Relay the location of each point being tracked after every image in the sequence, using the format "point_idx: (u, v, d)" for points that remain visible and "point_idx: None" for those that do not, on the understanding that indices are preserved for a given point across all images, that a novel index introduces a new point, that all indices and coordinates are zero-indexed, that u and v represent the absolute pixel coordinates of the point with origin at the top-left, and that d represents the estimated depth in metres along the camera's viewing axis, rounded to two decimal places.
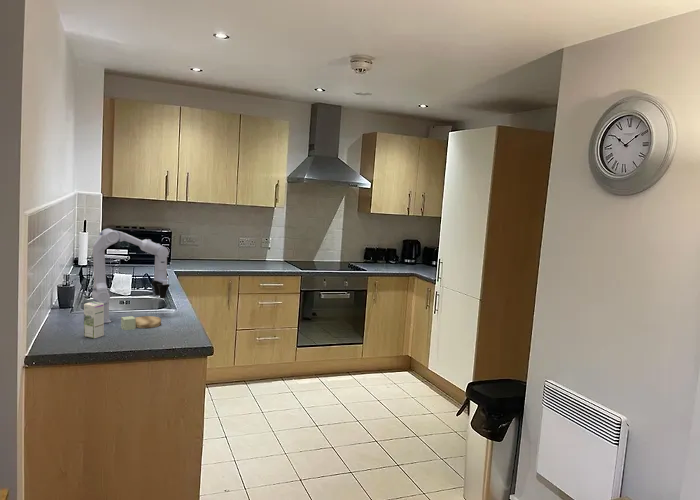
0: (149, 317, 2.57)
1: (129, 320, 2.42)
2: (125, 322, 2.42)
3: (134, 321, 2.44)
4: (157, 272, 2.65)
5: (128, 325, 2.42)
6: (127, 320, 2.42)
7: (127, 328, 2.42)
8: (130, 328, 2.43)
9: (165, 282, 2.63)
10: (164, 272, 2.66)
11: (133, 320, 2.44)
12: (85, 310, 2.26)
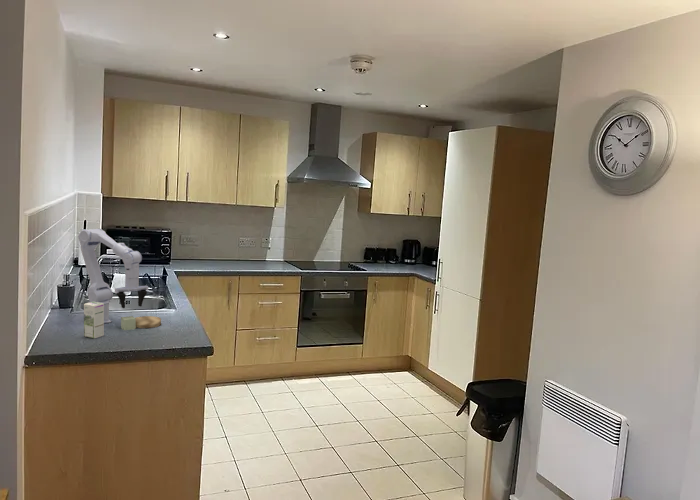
0: (149, 317, 2.57)
1: (129, 320, 2.42)
2: (125, 322, 2.42)
3: (134, 321, 2.44)
4: None
5: (128, 325, 2.42)
6: (127, 320, 2.42)
7: (127, 328, 2.42)
8: (130, 328, 2.43)
9: (115, 290, 2.40)
10: (127, 280, 2.42)
11: (133, 320, 2.44)
12: (85, 310, 2.26)
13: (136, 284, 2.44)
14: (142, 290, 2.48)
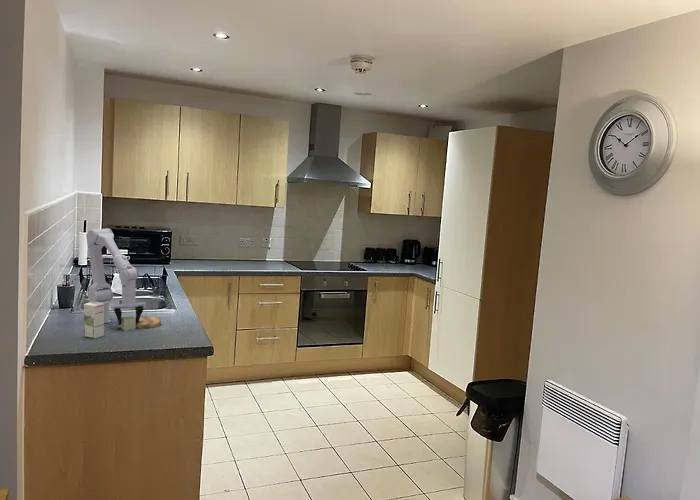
0: (149, 317, 2.57)
1: (129, 320, 2.42)
2: (125, 322, 2.41)
3: (134, 321, 2.44)
4: None
5: (128, 325, 2.42)
6: (127, 320, 2.42)
7: (127, 328, 2.42)
8: (130, 328, 2.43)
9: (111, 307, 2.39)
10: (123, 297, 2.41)
11: (133, 320, 2.44)
12: (85, 310, 2.26)
13: (132, 301, 2.42)
14: (139, 307, 2.46)
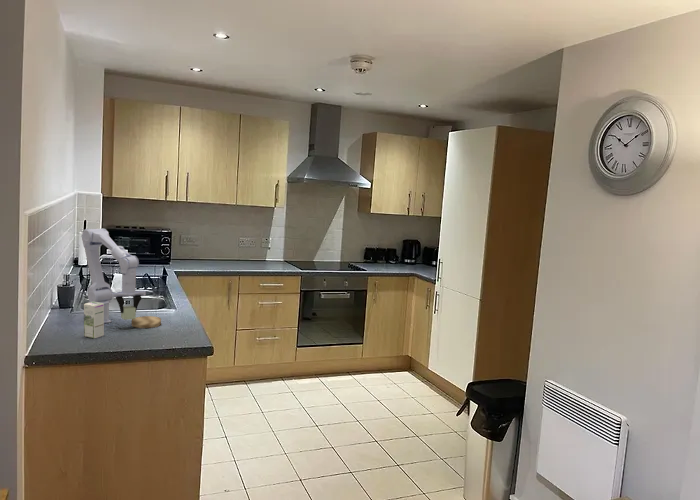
0: (149, 317, 2.57)
1: (129, 309, 2.42)
2: (125, 311, 2.41)
3: (134, 310, 2.43)
4: None
5: (128, 314, 2.42)
6: (127, 309, 2.41)
7: (127, 317, 2.42)
8: (130, 317, 2.43)
9: (111, 295, 2.39)
10: (123, 285, 2.40)
11: (133, 309, 2.43)
12: (85, 310, 2.26)
13: (132, 289, 2.42)
14: (139, 295, 2.45)
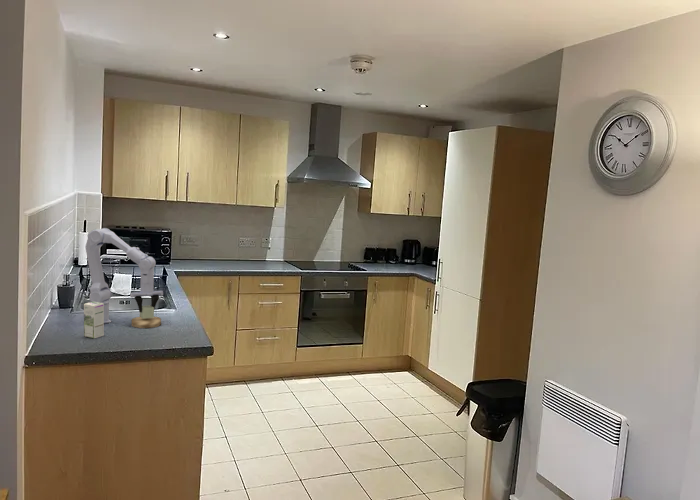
0: None
1: (148, 309, 2.50)
2: (144, 310, 2.49)
3: (152, 310, 2.51)
4: None
5: (147, 313, 2.50)
6: (146, 309, 2.49)
7: (146, 316, 2.50)
8: (148, 316, 2.50)
9: (130, 294, 2.47)
10: (142, 285, 2.48)
11: (151, 309, 2.51)
12: (85, 310, 2.26)
13: (151, 289, 2.50)
14: (157, 295, 2.53)
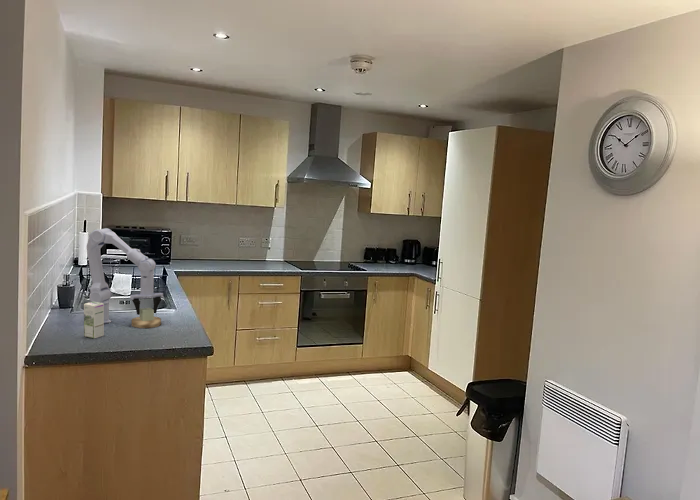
0: None
1: (148, 311, 2.50)
2: (144, 313, 2.49)
3: (152, 312, 2.51)
4: None
5: (147, 316, 2.50)
6: (146, 311, 2.49)
7: (146, 319, 2.50)
8: (148, 319, 2.51)
9: (130, 297, 2.47)
10: (142, 287, 2.48)
11: (151, 311, 2.51)
12: (85, 310, 2.26)
13: (150, 291, 2.50)
14: (157, 297, 2.54)
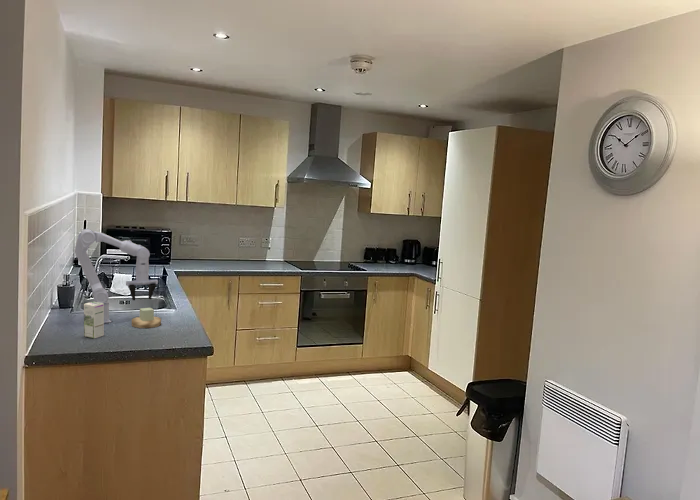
0: None
1: (147, 311, 2.50)
2: (144, 313, 2.49)
3: (152, 312, 2.51)
4: None
5: (147, 316, 2.50)
6: (146, 311, 2.49)
7: (146, 319, 2.50)
8: (148, 319, 2.51)
9: (126, 283, 2.56)
10: (137, 274, 2.57)
11: (151, 311, 2.51)
12: (85, 310, 2.26)
13: (146, 278, 2.58)
14: (152, 284, 2.62)
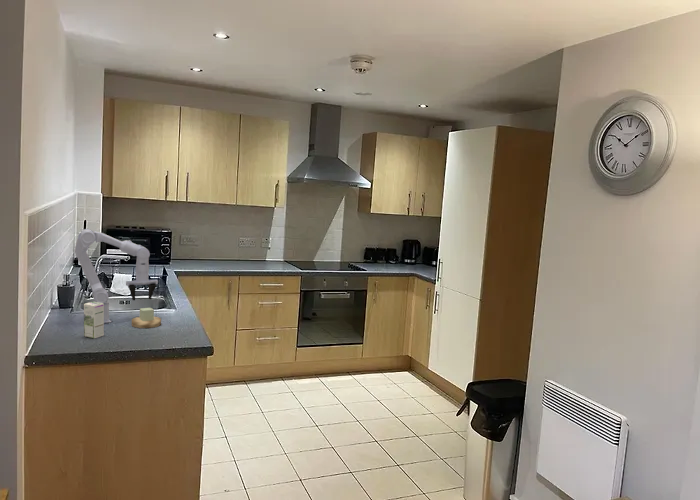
0: None
1: (148, 311, 2.50)
2: (144, 313, 2.49)
3: (152, 312, 2.51)
4: None
5: (147, 316, 2.50)
6: (146, 311, 2.49)
7: (146, 319, 2.50)
8: (148, 319, 2.51)
9: (126, 283, 2.56)
10: (137, 274, 2.57)
11: (151, 311, 2.51)
12: (85, 310, 2.26)
13: (146, 278, 2.58)
14: (152, 284, 2.62)
